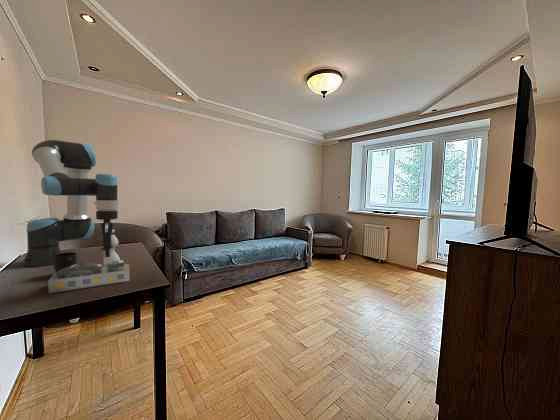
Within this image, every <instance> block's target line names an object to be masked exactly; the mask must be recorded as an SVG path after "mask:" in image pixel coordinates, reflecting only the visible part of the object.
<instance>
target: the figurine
mask: <svg viewBox="0 0 560 420" xmlns="http://www.w3.org/2000/svg"><path fill="white" fill-rule="evenodd" d="M115 232H116V230H115V229H113V228H112V234H111V244H112V245H111V246H113V248H111V260H112V262H115V261H120V260H121V258H120V256H119V254H118V253H117V252H116V251H115V248H116V247H117V246H118V245H119V239H118V238H117V237H116V235H115V234H113V233H115ZM102 267H107V264H105V265H104V259H103V261H102Z"/></svg>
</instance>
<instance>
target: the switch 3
mask: <svg viewBox="0 0 560 420" xmlns="http://www.w3.org/2000/svg"><path fill="white" fill-rule="evenodd" d="M124 264H125V261H124V259H120V261H115V262H112V263H111V264H107V269H113V268H118V267H123V266H124Z"/></svg>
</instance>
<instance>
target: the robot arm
mask: <svg viewBox="0 0 560 420" xmlns="http://www.w3.org/2000/svg"><path fill="white" fill-rule="evenodd" d="M31 156H32V158H33V160H34V161H35V162H36V163H38V164H39V168H40V169H41V172H42V174H43V177H41V181H40V182H41V183H40V184H41V185H40V188H41V192H42V194H43V195H45V196H55V197H57V196H58V197H59V196H66V213H65V214H64V215H63V217H62V218H63V219H59V217H45V218H39V219H38V218H37V219H34V220H30V221H28V222H27V223H26V231H25V232H26V235H27V236H26V238H27V251H26V254H25V256H24V258H23V263H22V264H23V266H24V267H29V268H31V267H34V268H35V267H44V266H50V265H51V266H52V265H53V257H52V256H53V255H55V254H59V253H63V252H62V250H61V248H60V245H59V244H60V242H65V241H66V242H67V241H73V240H74V241H75V240H76V241H77V240H84V239H88V238H91V237H92V236H93V234H94V231H95V230H94V229H95V220H94V219H93V218H91V216H90V215H89V213H88V196H90V197H92V196H95V201H96V202H95V201H94V203H93V204H94V205H95V207H96V208H95V209H96V211H95V218H96V220H99V221H100V220H101V221H102V222H103V223H101V224H100V225H101V234H102V241H103V242H102V246H103V247H102V248H101V251H103V260H104V265H105V264H111V263H112V260H111V248H113V246H111V245H112V244H111V235H113V233H112V229H113V227H114V224H113V222H112V220H117V219H118V218H119V216H118V215H119V214H118V212H119V211H118V208H119V206H118V204H119V203H118V202H119V201H118V184H119V183H118V176H117V175H115V174H110V173H96V175H95V178H89V175H88V174H89V172H90V171H92V167H95V166H96V163H97V158H96V151H95V150H94V148H93V147H92V146H91V145H89V144H86V143H81V142H80V143H79V142H71V141H65V140H64V141H63V140H58V139H47V140H43V141H40V142H39V143H36V145H34V146H33V148H32V150H31Z"/></svg>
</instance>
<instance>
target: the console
mask: <svg viewBox="0 0 560 420" xmlns="http://www.w3.org/2000/svg"><path fill="white" fill-rule="evenodd" d="M130 277H131V275H130V264H129V263H124V266H123V267H118V268H113V269H107V267H104V266H102V268H101V272H100V271H88V270H83V268H82V269H77V270H76V271H74V272H71V273H69V274H66V275H63V276H61V277H58V276H57V273H56V272H54V273H53V274H52V275H51V276H50V278H49V279H48V280H47V285H48V287H47V289H48V294H53V293H60V292H67V291H73V290H79V289H87V288H93V287H94V288H95V287H100V286H106V285H112V284H119V283H124V282H130V280H131V279H130Z"/></svg>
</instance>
